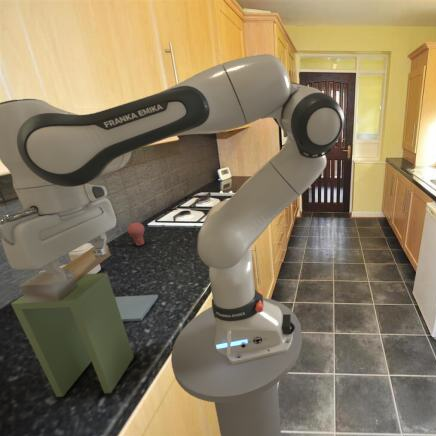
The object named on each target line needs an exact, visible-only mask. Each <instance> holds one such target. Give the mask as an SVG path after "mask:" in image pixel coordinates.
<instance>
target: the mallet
mask: <svg viewBox="0 0 436 436" xmlns="http://www.w3.org/2000/svg"><path fill="white" fill-rule="evenodd" d="M93 246H94V247H92V248H91V249H89V250H88V251H86V252H85V253H83V254H82V255H80V256H79V257H77V258H76V259H74V260H73V261H71V260H70V262H69V263H67V264H64V265H65V266H64V267H62V269H63V270H65V269H69V271H70V274H71V275H72V277H71V278H69V279H68V280H67V281H65V282H59V283H58V282H56V281H55V279H54V277H53V275H52V274H50V273H48V272H46V271H44V270H42V271H43V272H40V271H39V272H40V273H39V272H38V273H37V274H35V275H33V276H32V277H31V278H28V279H27V280H25V281H24V282H22V283H21V284H19V285H18V286H19V289H20V290H21V293H22V296H23V295H24V297H25V299H26V302H27V303H32V302H51V301H60V300H61V299H62V298H64V297H65V296H66V295H67V294H69V293H70V292H71V291H72V290H74V289H75V288H76V287H77V283H76V282H77V281H78V280H79V279H81V278H82V277H83V276H85V275H86V274H87V273H88V272H90V271H91V270H92V269H93V268H95V267H96V266H97V265H99V264H100V265H101V263H103V262H104V261H105V260H106V259H108V258H109V257H110V256H111V252H110V248H109V244H106V246H105V247H106V250H107V254H106V255H104V256H103V257H98V258H97V257H95V256H94V253H93V251H92V250H93V249H95V245H93Z"/></svg>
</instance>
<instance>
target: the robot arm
mask: <svg viewBox="0 0 436 436" xmlns="http://www.w3.org/2000/svg"><path fill="white" fill-rule="evenodd" d="M268 118H269V119H273V121H274V122H275V123H276V125H277V126H278V127H279V128H281V130H282V131H283V132H284V134H286V135H287V136H286V140H285V143H284V144H283V146H282V147H281V148H280V150H279V151H278V152H277V153H276V154H275V155H273V156H272V157H271V158H269V160H268V161H266V162H265V163H264V164H263V165H262V166H261V167H260V168H259V169H258V170H256V171H255V172H254V173H253V174H252V175H251V176H250V177H249V178H247V180H246V181H244V182H243V184H241V186H240V187H239V188H238V189H237V190H236V192H234V194H233V195H232V196H231V197H230V198H229V199H225V200H221V201H219V202H218V203H216V204H214V205H213V206H212V207H211V208H210V209H209V211H208V212H207V215H206V217H205V218H204V221H203V223H202V225H201V227H200V229H199V231H198V234H197V239H196V240H197V243H196V245H197V255H198V257H199V258H200V260H201V261H202V262H203V263H204V264H205V265H206V266H208V277H209V282H210V290H211V296H212V298H211V307H212V310H213V314H214V318H215V321H216V328H215V337H214V346H215V348H216V350H217V351H218V352H219V353H221V354H222V355H224V356H226V358H227V359H228V361H229V362H230V363H231V364H237V363H241V362H246V361H250V360H254V359H259V358H263V357H268V356H272V355H277V354H281V353H285V352H287V351H288V349H289V348H290V346H291V343H292V339H293V331H294V329H295V326H294V324H293V323H292V322H291V314H282V311H281V309H280V308H279V307H278V306H276V305H274V304H271V303H269V302H267V301H265V300H263V298H264V296H263V289H262V288H261V289H260V292H259V291H258V290H256V289H255V279H254V268H253V251H252V246H253V244H254V243H255V242H256V241H257V240H258V239H259V238H260V236H261V235H262V234H263V233H264V232H265V230H266V229H267V228H268V227H269V226H270V225H271V223H272V222H273V221H274V220H275V219H276V218H277V217H278V216H279V215H280V214H281V213H282V212H283V211H284V210H286V208H287V207H289V206H290V205H291V204H292V203H294V202H295V201H296V200H297V199H298V198H299V197H300V196H301V195H303V194H304V193H305V191H307V190H308V188H310V187H311V186H312V185H313V184H314V182H316V180H317V179H318V178H319V177H320V175H322V173H323V171H324V170H325V169H326V166H327V156H326V155H327V154H329V153H330V152H331V150H332V148H333V147H334V146H335V145H336V143H337V142H338V141H339V139H340V137H341V136H342V133H343V131H344V127H345V114H344V110H343V109H342V107H341V105H340V103H338V101H337V100H336V99H335V98H333V97H332V96H331V95H330V94H328V93H326V92H325V93H324V92H322V91H321V90H320V89H317V88H315V87H313V86H307V85H303V84H300V83H297V82H293V81H291V78H290V75H289V72H288V70H287V68H286V66H285V65H284V63H283V62H282V61H281V60H280V59H279V58H278V57H277V56H275V55H272V54H268V53H266V54H265V53H264V54H256V55H250V56H244V57H240V58H235V59H232V60H228V61H225V62H222V63H219V64H216V65H214V66H211V67H209V68H206V69H204V70H202V71H199V72H198V73H195V74H194V75H192V76H191V77H188V78H186V79H184V80H182V81H180V82H178V83H177V84H174V85H172V86H170V87H168V88H166V89H164V90H162V91H160V92H157V93H155V94H150V95H148V96H145V97H142V98H138V99H136V100H132V101H129V102H126V103H122V104H119V105H116V106H114V107H110V108H106V109H104V110H99V111H96V112H92V113H88V114H77V113H74V112H70V111H67V110H64V109H62V108H59V107H56V106H54V105H52V104H51V103H49V102H47V101H45V100H42V99H37V98H22V99H21V98H20V99H11V100H6V101H1V102H0V162H1V163H2V164H3V166H4V167H6V169H7V170H8V172H9V173H10V175H11V179H12V186H13V189H14V191H15V194H16V196H17V198H18V200H19V202H20V204H21V206H22V209H20V210H18V211H14V212H9V213H7V214H4V215H3V217H2V219H1V220H0V240H1V244H2V247H3V250H4V254H5V257H6V260H7V263H8V264H9V266H10V267H11V268H12V269H13V270H15V271H18V272H31V271H37V270H39V269H41V270H42V271H46V272H48V273H50V274H52V275H53V277H54V279H55V281H56V282H58V283H59V282H65V281H67V280H68V279H69V278H71V277H72V275H71V274H70V271H69V269H65V270H63V269H62V268H60V267H59V265H60V264H61V261H60V259H61V258H62V257H64V256H65V255H67V254H69V252H71V251H73V250H75V249H76V248H78V247H80V246H82V245H84V244H85V243H90V242H91V241H94V246H95V249H93V250H92V251H93V253H94V256H95V257H97V258H98V257H103V256H104V255H106V254H107V250H106V247H105V246H106V245H107V234H106V233H107V232H109V231H111V230H113V229H114V228H116V226H117V217H116V213H115V210H114V208H113V205H112V203H111V201H110V199H109V198H107V196H108V189H107V188H106V187H105V185H99V184H90V182H91V181H93V180H95V179H97V178H100V177H103V176H106V175H109V174H111V173H114V172H116V171H119V170H121V169H122V168H124V167H125V166H126V165H127V164H128V163H129V162H130V160H131V158H132V156H133V152H134V151H137V150H140V149H142V148H144V147H146V146H147V147H148V146H150V145H152V144H155V143H156V144H157V143H158V142H161V141H164V140H167V139H170V138H173V137H180V136H186V135H199V134H200V135H209V134H217V133H224V132H228V131H232V130H236V129H239V128H242V127H245V126H246V125H249V124H252V123H254V122H258V121H259V120H260V119H261V120H263V119H268Z"/></svg>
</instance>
